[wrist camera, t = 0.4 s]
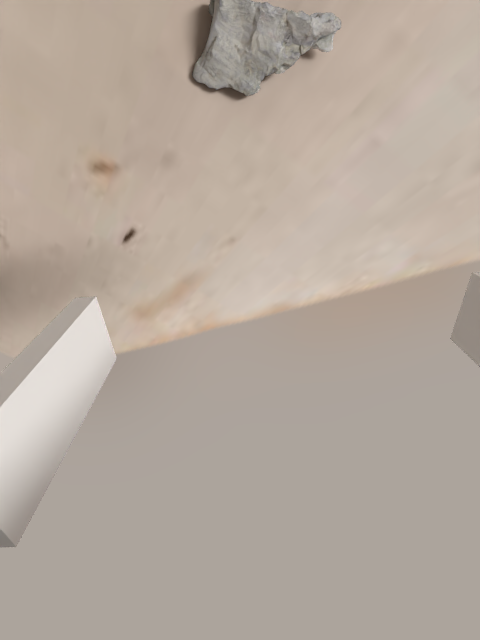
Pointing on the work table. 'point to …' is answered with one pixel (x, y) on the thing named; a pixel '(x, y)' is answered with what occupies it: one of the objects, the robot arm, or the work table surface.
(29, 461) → the robot arm
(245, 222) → the work table surface
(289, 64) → the stone
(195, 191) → the work table surface
